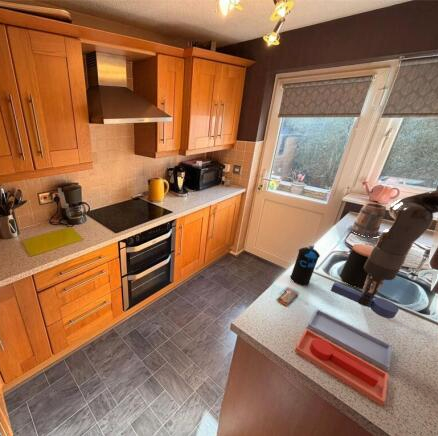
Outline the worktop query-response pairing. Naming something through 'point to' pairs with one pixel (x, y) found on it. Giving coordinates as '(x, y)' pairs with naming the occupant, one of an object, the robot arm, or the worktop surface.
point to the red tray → (372, 392)
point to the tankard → (369, 220)
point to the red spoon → (342, 361)
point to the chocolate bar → (287, 297)
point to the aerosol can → (304, 265)
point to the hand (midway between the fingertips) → (362, 302)
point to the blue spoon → (376, 305)
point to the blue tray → (352, 339)
